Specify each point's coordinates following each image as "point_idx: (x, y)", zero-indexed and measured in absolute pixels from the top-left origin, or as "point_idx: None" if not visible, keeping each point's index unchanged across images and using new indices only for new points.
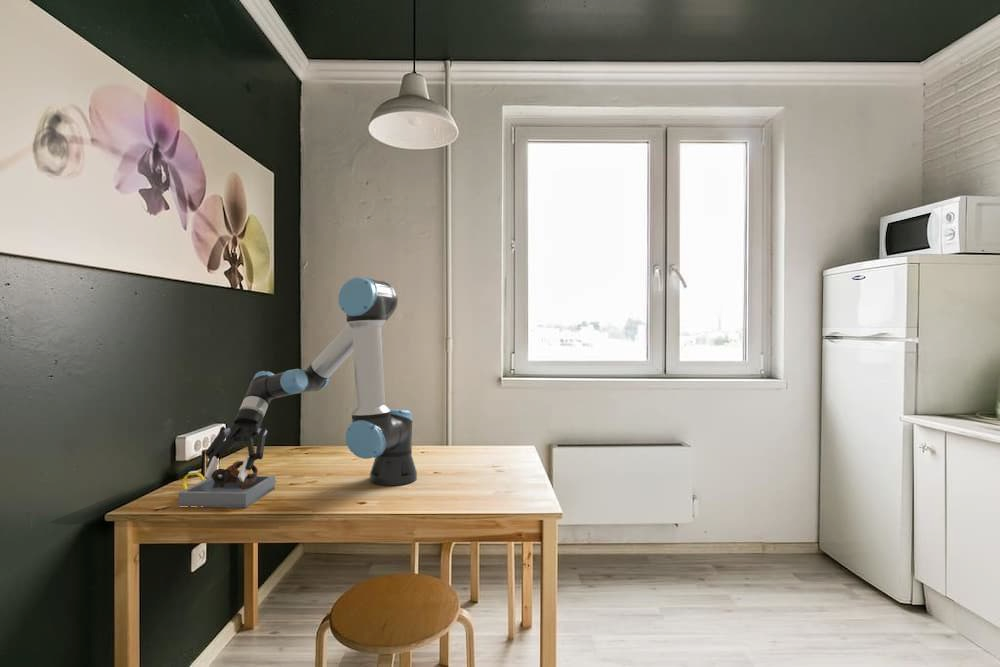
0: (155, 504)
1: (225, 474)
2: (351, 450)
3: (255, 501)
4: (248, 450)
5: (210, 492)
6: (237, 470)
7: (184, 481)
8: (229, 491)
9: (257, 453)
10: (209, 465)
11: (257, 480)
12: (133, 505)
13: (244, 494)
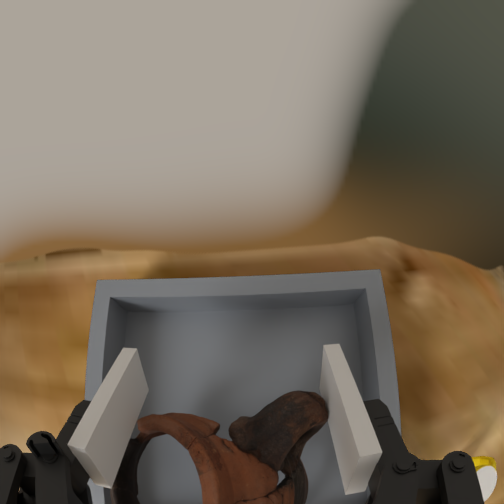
0: (453, 311)
1: (245, 418)
2: None
3: None
4: (64, 499)
5: (246, 284)
6: (166, 424)
7: (485, 463)
8: None
9: (9, 449)
10: (355, 392)
11: None
12: (493, 292)
13: (103, 281)
